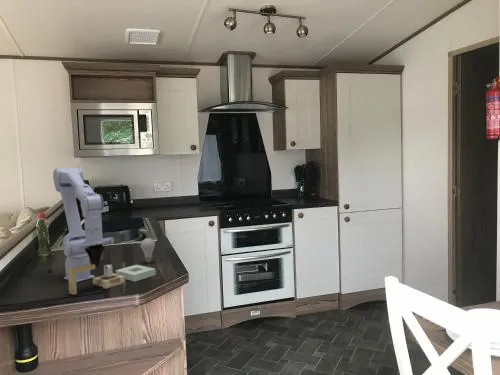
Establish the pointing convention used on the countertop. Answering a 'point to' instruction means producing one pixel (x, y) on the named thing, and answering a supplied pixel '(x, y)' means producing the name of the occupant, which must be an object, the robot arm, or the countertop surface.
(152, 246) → the lightbulb
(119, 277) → the socket block
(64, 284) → the countertop surface
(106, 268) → the steel pin
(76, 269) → the tan l-shaped wooden piece
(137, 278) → the pale grey flat frame
